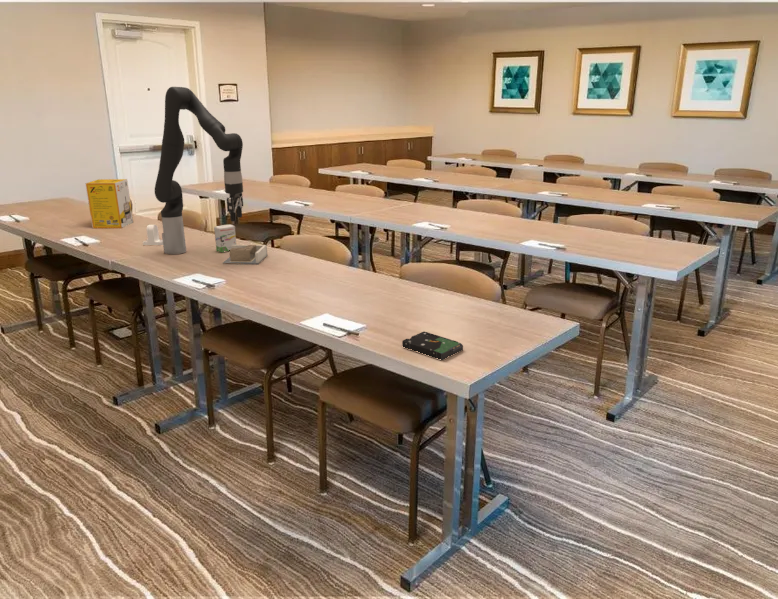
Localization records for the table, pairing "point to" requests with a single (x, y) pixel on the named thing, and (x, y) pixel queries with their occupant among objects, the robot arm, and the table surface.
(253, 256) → the tan boxy piece
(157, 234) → the cable organizer
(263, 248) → the tray
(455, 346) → the disk drive
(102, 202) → the packaging box
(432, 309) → the table surface
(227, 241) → the ink box
